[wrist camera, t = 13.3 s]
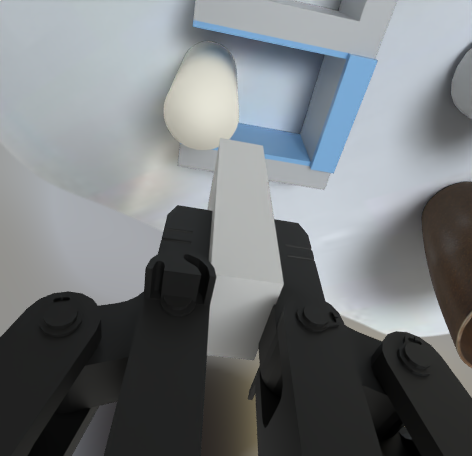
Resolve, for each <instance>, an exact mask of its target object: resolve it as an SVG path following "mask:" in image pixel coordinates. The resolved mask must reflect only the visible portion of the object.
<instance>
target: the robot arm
mask: <svg viewBox="0 0 472 456" xmlns="http://www.w3.org/2000/svg"><path fill="white" fill-rule="evenodd" d="M145 272H146V273H145V287H144V292H142V293H141V294H140V295H139V296H137V297H135V298H133V299H130V300H128V301H125V302H121V303H115V304H108V305H101V306H97V304H96V303H95V302H94V300H93V299H91V298H89V297H88V296H86V295H84V294H81V293H75V292H61V293H54V294H51V295H48V296H46V297H43V298H41V299H39V300H38V301H36V302H35V303H34V304H33V305H31V306H30V307H29V308H27V309H26V310H25V312H24V313H23V314H22V315H21V316H20V317H19V318H18V319H17V320H16V321H15V322H14V323H13V324H12V325H11V326H10V328H9V329H8V330H7V331H6V332H5V333H4V334H3V335H2V336H1V337H0V456H72V454H73V452H74V451H75V449H76V447H77V445H78V443H79V442H80V440H81V438H82V436H83V434H84V433H85V431H86V429H87V427H88V426H89V424H90V422H91V420H92V418H93V417H94V415H95V413H96V411H97V409H98V408H99V406H100V405H104V404H109V403H112V402H117V401H118V402H117V405H116V410H115V414H114V417H113V422H112V425H111V429H110V433H109V438H108V441H107V445H106V449H105V453H104V456H201V441H202V423H203V408H204V392H205V376H206V359H207V355H210V356H219V357H228V358H238V359H247V360H254V359H255V356H256V354H257V351H258V349H259V359H260V366H259V368H258V371H257V373H256V376H255V378H254V381H253V383H252V385H251V388H250V390H249V396H248V399H249V400H252V399H253V397H254V395H255V394H256V395H255V396H256V416H257V439H258V456H472V398H471V397H470V395H469V394H468V392H467V391H466V390H465V388H464V387H463V385H462V384H461V383H460V381H459V380H458V379H457V377H456V376H455V375H454V373H453V372H452V371H451V369H450V368H449V366H448V365H447V364H446V362H445V361H444V360H443V358H442V357H441V356H440V355H439V354H438V352H436V350H435V349H434V348H433V347H432V346H431V345H430V344H428V343H427V342H425V341H424V340H422V339H421V338H420V337H417V336H415V335H412V334H410V333H407V332H397V331H396V332H393V333H390V334H387V336H386V337H385V339H384V340H383V341H379V340H377V339H374V338H371V337H369V336H367V335H364V334H362V333H359V332H357V331H355V330H353V329H351V328H349V327H347V326H346V325H344V322H343V320H342V318H341V316H340V314H339V313H338V312H337V311H336V310H335V309H334V308H333V307H332V305H331V304H329V303H327V302H325V298H324V294H323V291H322V287H321V283H320V279H319V275H318V271H317V268H316V264H315V261H314V256H313V252H312V250H311V245H310V241H309V237H308V235H307V233H306V232H305V231H304V230H303V228H302V227H301V226H300V225H299V223H294V222H287V221H281V220H275V219H274V216H273V209H272V202H271V196H270V189H269V182H268V176H267V169H266V163H265V156H264V149H263V146H262V145H257V144H251V143H246V142H240V141H235V140H229V139H224V138H220V142H219V147H218V153H217V158H216V164H215V169H214V175H213V180H212V186H211V191H210V197H209V202H208V210H204V209H198V208H191V207H185V206H179V205H178V206H176V207H175V208H174V209H173V210H172V211H171V212H170V213H169V214H168V215H167V219H166V223H165V228H164V232H163V236H162V240H161V244H160V248H159V252H158V255H156V256H155V257H153V258H152V259H151V260H150V261H149V263H148V265H147V267H146V271H145Z"/></svg>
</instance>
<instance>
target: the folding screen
mask: <svg viewBox="0 0 472 456" xmlns="http://www.w3.org/2000/svg"><path fill="white" fill-rule="evenodd" d="M397 1H398V0H341V4H340V7H339V10H333V9H329V8H325V7H320V6H316V5H311V4H307V3H303V2H298V1H294V0H195V9H194V19H193V27H197V28H202V29H207V30H211V31H216V32H221V33H225V34H230V35H235V36H240V37H244V38H249V39H254V40H259V41H263V42H268V43H273V44H278V45H282V46H287V47H292V48H296V49H301V50H306V51H311V52H315V53H320V54H325V55H324V59H323V62H322V65H321V68H320V72H319V75H318V78H317V81H316V84H315V88H314V91H313V94H312V97H311V101H310V104H309V107H308V110H307V114H306V117H305V120H304V123H303V127H302V130H301V133H300V134H297V133H291V132H286V131H280V130H275V129H269V128H264V127H258V126H253V125H247V124H242V123H238V125H237V128H236V130H235V132H234V134H233V135H232V137H231V138H230V139H229V140H235V141H240V142H246V143H251V144H257V145H262V146H263V149H264V156H265V163H266V169H267V176H268V181H273V182H279V183H285V184H291V185H297V186H304V187H310V188H316V189H322V190H324V189H325V187H326V184H327V182H328V179H329V176H330V174H331V173H334V171H335V168H336V166H337V163H338V161H339V158H340V156H341V153H342V151H343V148H344V145H345V143H346V140H347V138H348V135H349V133H350V130H351V128H352V125H353V123H354V120H355V117H356V115H357V112H358V110H359V107H360V105H361V102H362V100H363V97H364V94H365V92H366V89H367V87H368V84H369V82H370V79H371V77H372V74H373V72H374V69H375V66H376V64H377V61H378V60H376V59H375V58H376V55H377V52H378V50H379V47H380V45H381V42H382V39H383V37H384V34H385V32H386V29H387V27H388V24H389V21H390V19H391V16H392V14H393V11H394V8H395V6H396V3H397ZM217 153H218V147H217V148H214V149H211V150H196V149H192V148H189V147H187V146H185V145H183V144H181V143H180V149H179V159H178V166H181V167H187V168H194V169H200V170H206V171H212V172H214V169H215V164H216V158H217Z"/></svg>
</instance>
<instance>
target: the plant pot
mask: <svg viewBox="0 0 472 456" xmlns="http://www.w3.org/2000/svg"><path fill="white" fill-rule="evenodd" d="M422 232H423V241H424V248H425V253H426V259H427V264H428V268H429V272H430V276H431V280H432V284H433V287H434V290H435V294H436V297H437V300H438V303H439V306H440V309H441V311H442V314H443V317H444V319H445V322H446V324H447V327H448V330H449V332H450V335H451V337H452V339H453V342H454V344H455V347H456V349H457V352H458V354H459V356H460V358H461V359H462V361H463V362H464V363H465V364H467V365H468V366H469V367H471V368H472V182H461V183H456V184H453V185H450V186H448V187H446V188H444V189H443V190H441V191H439V192H438V193H437V194H436V195H434V196H433V197H432V198H431V199H430V200H429V202H428V203H427V205H426V206H425V208H424V210H423V213H422Z"/></svg>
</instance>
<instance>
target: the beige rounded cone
mask: <svg viewBox="0 0 472 456" xmlns="http://www.w3.org/2000/svg"><path fill="white" fill-rule="evenodd" d="M164 120H165V123H166V126H167V128H168V130H169V132H170V133H171V134H172V136H173V137H174V138H175V139H176V140H177V141H179V142H180V143H181V144H183V145H185V146H187V147H189V148H192V149H196V150H211V149H214V148H217V147H219V142H220V138H224V139H230V138H231V137H232V135H233V134H234V132H235V130H236V128H237V125H238V121H239V104H238V87H237V69H236V64H235V60H234V58H233V56H232V54H231V53H230V52H229V51H228V50H227V49H226V48H225V47H224V46H222V45H221V44H219V43H216V42H211V41H205V42H200V43H198V44H196V45H194V46H193V47H191V48H190V49H189V50H188V52H187V53H186V55H185V57H184V59H183V61H182V63H181V66H180V68H179V70H178V72H177V74H176V77H175V79H174V81H173V83H172V86H171V88H170V90H169V92H168V94H167V97H166V99H165V103H164Z"/></svg>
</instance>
